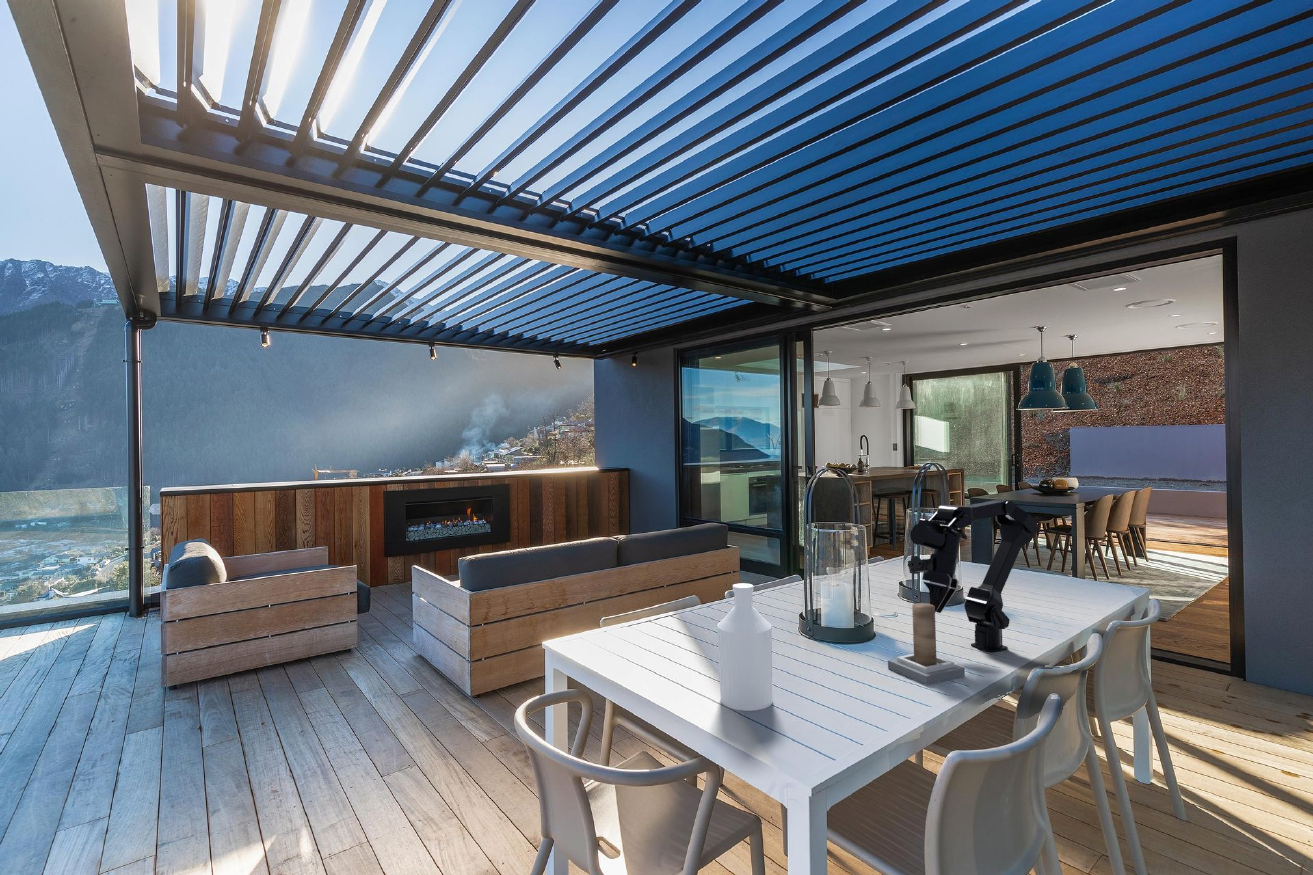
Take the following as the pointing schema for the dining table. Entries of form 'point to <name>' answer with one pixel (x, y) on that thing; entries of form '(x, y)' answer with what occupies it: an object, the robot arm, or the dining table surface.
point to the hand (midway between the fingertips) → (935, 612)
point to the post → (924, 634)
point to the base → (926, 669)
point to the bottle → (745, 654)
